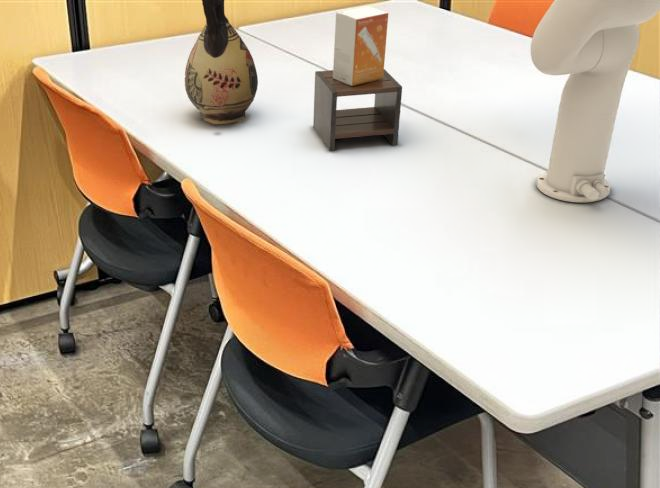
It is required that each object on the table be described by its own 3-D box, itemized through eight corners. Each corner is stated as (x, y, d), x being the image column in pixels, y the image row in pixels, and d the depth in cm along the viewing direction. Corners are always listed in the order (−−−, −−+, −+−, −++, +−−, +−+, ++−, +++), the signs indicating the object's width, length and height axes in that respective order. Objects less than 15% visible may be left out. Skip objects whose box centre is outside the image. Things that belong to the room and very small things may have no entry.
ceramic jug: (198, 102, 220) (194, -38, 203) (265, 108, 215) (266, -34, 199) (173, 129, 206) (166, -18, 190) (244, 136, 202) (243, -14, 186)
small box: (352, 87, 190) (355, 19, 183) (331, 78, 194) (334, 11, 187) (384, 79, 193) (389, 12, 186) (363, 70, 198) (367, 4, 191)
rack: (397, 145, 196) (402, 86, 190) (329, 151, 194) (332, 92, 188) (377, 122, 207) (381, 66, 200) (313, 127, 205) (315, 71, 199)
